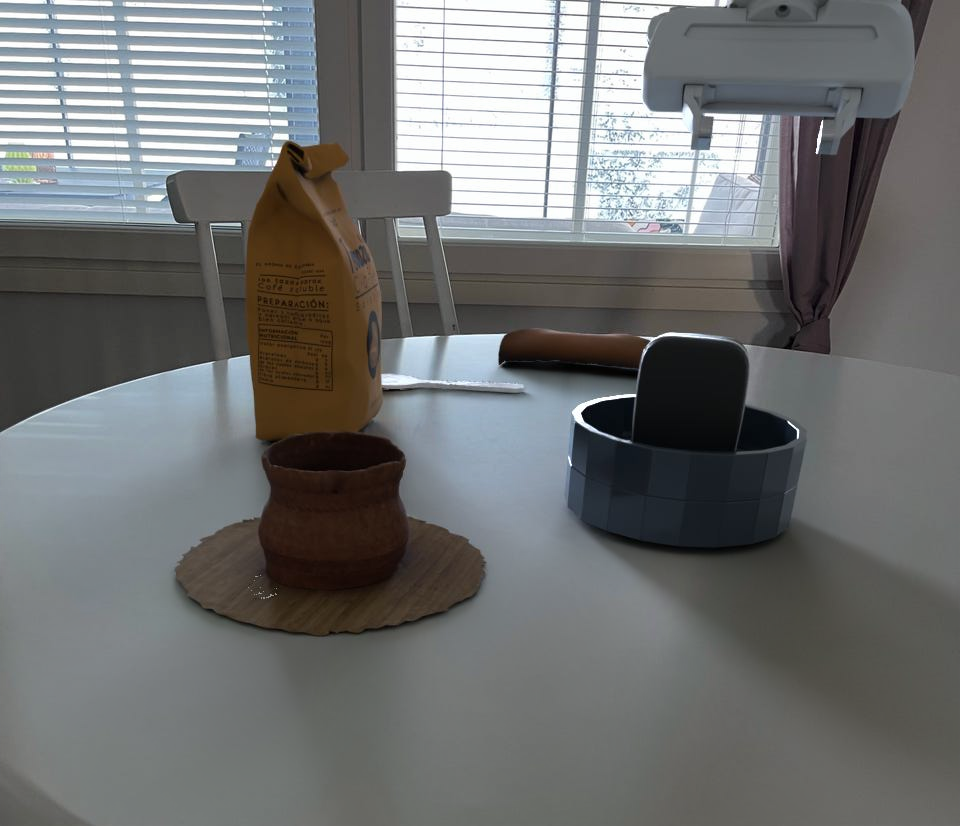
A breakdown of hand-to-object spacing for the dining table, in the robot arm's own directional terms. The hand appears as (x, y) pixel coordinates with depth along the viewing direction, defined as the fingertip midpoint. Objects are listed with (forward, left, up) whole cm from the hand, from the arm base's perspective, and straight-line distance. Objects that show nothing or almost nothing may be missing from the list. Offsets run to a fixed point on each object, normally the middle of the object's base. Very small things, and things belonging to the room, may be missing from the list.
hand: (763, 145), depth 71 cm
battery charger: (+7, +19, -23) cm, 30 cm away
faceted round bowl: (+7, +19, -23) cm, 31 cm away
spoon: (+25, -17, -23) cm, 38 cm away
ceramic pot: (+29, +30, -23) cm, 48 cm away
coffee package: (+34, +1, -23) cm, 41 cm away
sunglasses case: (+9, -30, -23) cm, 39 cm away
